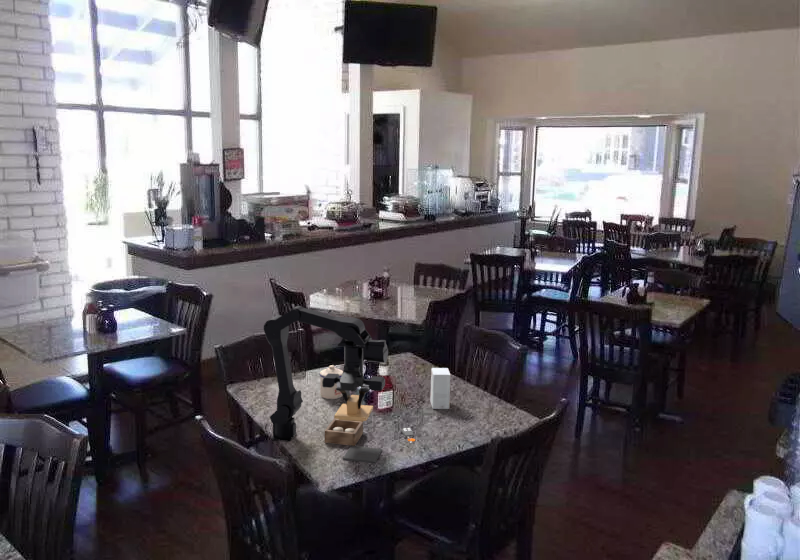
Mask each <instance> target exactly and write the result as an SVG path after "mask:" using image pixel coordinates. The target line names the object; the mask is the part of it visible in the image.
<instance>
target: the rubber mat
mask: <svg viewBox="0 0 800 560" xmlns="http://www.w3.org/2000/svg"><path fill="white" fill-rule="evenodd" d="M382 451H383V448H377V447H370V446H359V445H355V446H352V445H349V448H348V449H347V451H346V453H344V456H343V457H342V459H343V460H344V461H352V462H353V461H354V462H362V463H370V464H371V463H372V464H376V463H377V461H378V459H379V457H380V456H381V453H382Z"/></svg>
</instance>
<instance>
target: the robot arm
mask: <svg viewBox="0 0 800 560" xmlns="http://www.w3.org/2000/svg"><path fill="white" fill-rule="evenodd" d="M296 322H299V323H303V324H307V325H310V326H314V327H317V328H320V329H323V330H327V331H330V332H333V333H334V334H336V335H337V336H338V337H340V338H342V339H341V340H340V342H338V343H337V346H338V347H343V348H344V349H343V351H344V352H343V354H344V357H343V359H344V365H343V369H342V371H343V373H342V376H341V378H339V374H332V373H328V374H327V375H326V376H325V377H324V378H323V381H322V386H323V387H328V388H332V387H333V386H334V385H335V384H337V388H336V390H338V391H340V392H341V393H342V395H343V396H342V397H343V399H344V401H345V404H346V405H347V401H348V399H349V398H350V396H351V392H356V391H357V388H359V387H360V388H359V390H358V395H359V401H358V409H360V407H361V405H363V401H364V399H365V395H366V394H367V393H369V392H370V391H372V392H373V391H375V392H376V391H377V392H382V391H383V390H384V388H385V386H386V378H385V377H384V376H375V375H374V376H372V377H371V378H370V379H369V378H365V377H364V361H366V362H370V363H381V364H386V363H387V361H388V356H389V348H388V345H387V340H386V339H380V340H379V339H377V340H376V339H373V338H372V336H371V334H370V333H369V332H368V331H367V329H366V327H365V323H364V321H363V320H361V319H360V318H356V317H345V316H344V317H339V316H333V315H330V314H327V313H324V312H320V311H316V310H313V309H309V308H307V307H304V306H301V305H297V306H295V307H293V308H291V310H289V311H288V312H287V313H285V314H283V315H280V314H278V315H275V316H273V317H272V318H270V319H268V320H266V321H265V323H264V324H263V332H264V334H265V335H264V336H265V338H266V340H267V342H268V344H269V345H270V346H271V349H272V357H273V361H274V362H273V363H274V366H275V373H276V374H275V375H276V379H277V380H276V381H277V385H278V394H277V398H276V411H274V412H273V413H272V414H271V415H270V416H269V419H270V422H271V424H272V436H271V437H270V439H271V440H275V441H284V442H291V441H292V439H293V438H294V437H295V436H296V435H297V422H295V417H294V416H296V413H297V412H299V410H300V408H301V407H302V403H304V400H303V398H302V391H301V390H297V388H295V386H294V382H293V381H294V380H293V375H292V369H291V362H290V356H289V349H288V339H289V335H290V328H289V327H290V326H291V325H292V324H293V323H296Z"/></svg>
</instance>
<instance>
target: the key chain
mask: <svg viewBox="0 0 800 560" xmlns="http://www.w3.org/2000/svg"><path fill="white" fill-rule="evenodd" d="M400 431H401V433H402V435H403V436H404V437H405V438H407V441H408V442H409V443H410V444H412V443H413V442H415V441H416V439H415V438H414V436H415V435H414V431H413V430H412V428H411V427H403V428H401V430H400Z"/></svg>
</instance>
